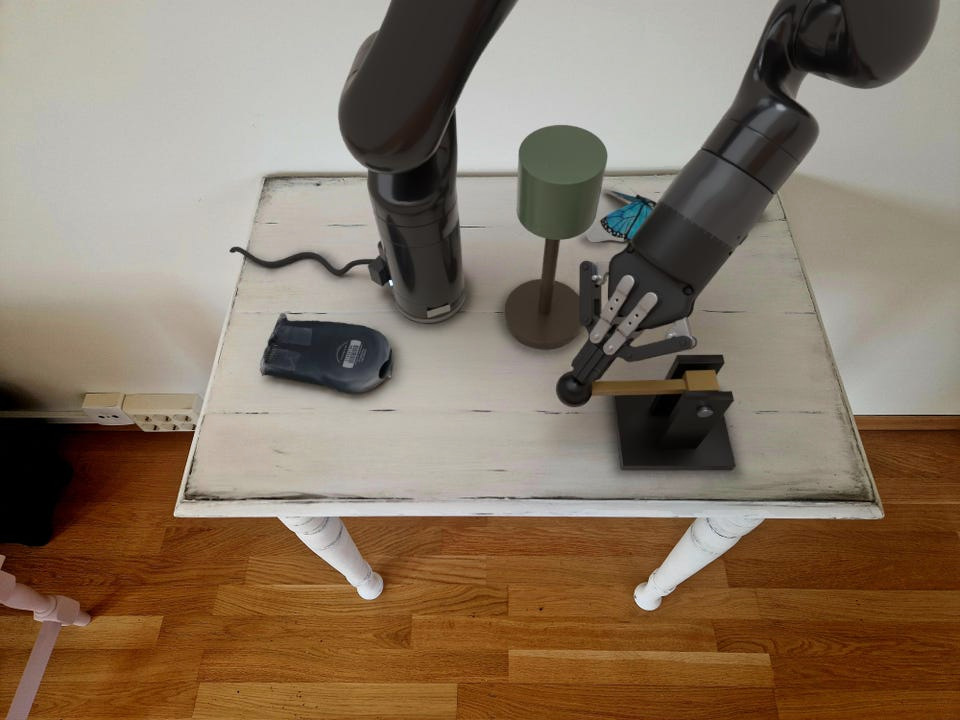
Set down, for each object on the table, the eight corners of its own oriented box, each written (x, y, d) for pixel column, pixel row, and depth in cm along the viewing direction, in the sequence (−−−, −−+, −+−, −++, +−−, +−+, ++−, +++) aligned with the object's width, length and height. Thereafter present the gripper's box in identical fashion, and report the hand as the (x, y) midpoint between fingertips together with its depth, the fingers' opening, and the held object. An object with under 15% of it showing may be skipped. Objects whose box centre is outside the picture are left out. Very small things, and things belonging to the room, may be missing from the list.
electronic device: (269, 394, 70) (383, 401, 67) (248, 366, 66) (369, 372, 63) (297, 337, 76) (403, 341, 73) (280, 308, 72) (392, 311, 68)
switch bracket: (621, 469, 63) (647, 420, 52) (612, 396, 67) (634, 337, 56) (731, 470, 62) (782, 420, 51) (715, 396, 67) (758, 336, 56)
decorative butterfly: (672, 241, 74) (603, 208, 74) (649, 269, 80) (584, 238, 80) (687, 189, 79) (622, 158, 79) (664, 219, 85) (603, 190, 84)
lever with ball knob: (556, 414, 57) (557, 397, 54) (554, 382, 59) (555, 364, 56) (712, 410, 56) (723, 393, 53) (705, 378, 58) (715, 360, 55)
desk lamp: (489, 323, 73) (485, 161, 51) (533, 274, 77) (548, 104, 55) (554, 363, 70) (579, 208, 48) (597, 310, 74) (639, 144, 52)
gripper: (623, 171, 47) (512, 336, 54) (760, 261, 42) (618, 432, 48) (651, 189, 54) (548, 335, 60) (773, 269, 48) (646, 420, 55)
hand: (580, 378), depth 54 cm, fingers closed
